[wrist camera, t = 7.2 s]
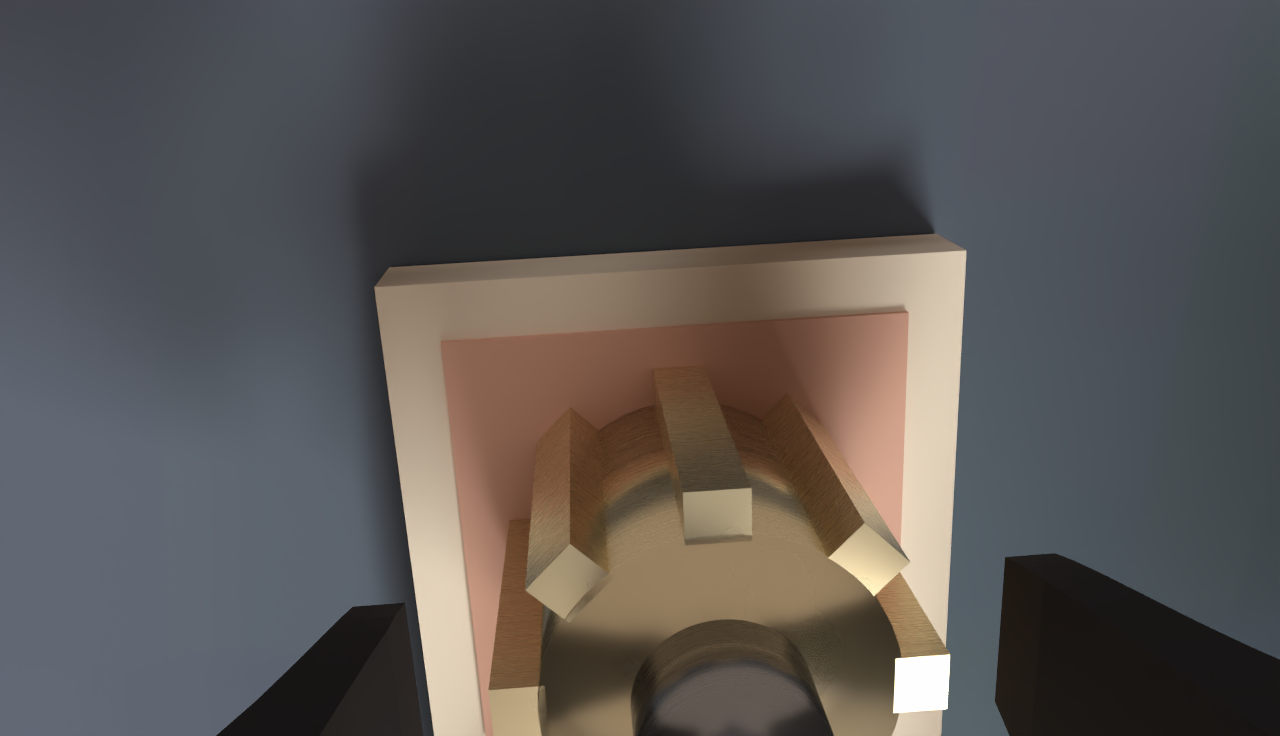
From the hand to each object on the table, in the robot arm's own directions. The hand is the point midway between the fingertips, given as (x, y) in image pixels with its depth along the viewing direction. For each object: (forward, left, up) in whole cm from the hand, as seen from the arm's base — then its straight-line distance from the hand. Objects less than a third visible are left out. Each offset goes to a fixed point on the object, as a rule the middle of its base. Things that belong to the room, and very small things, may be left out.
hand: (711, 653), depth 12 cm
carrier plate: (0, +2, -4) cm, 5 cm away
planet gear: (0, 0, -3) cm, 3 cm away
